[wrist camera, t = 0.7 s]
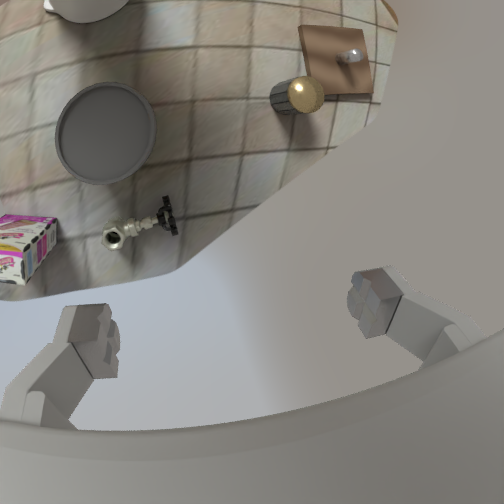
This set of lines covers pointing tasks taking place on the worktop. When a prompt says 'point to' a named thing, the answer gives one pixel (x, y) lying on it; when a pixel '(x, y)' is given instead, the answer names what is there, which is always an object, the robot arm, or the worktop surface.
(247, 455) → the robot arm
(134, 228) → the valve
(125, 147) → the reusable coffee cup
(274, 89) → the gold-topped grooved cylinder
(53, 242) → the candy bar box
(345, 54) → the steel post
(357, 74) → the post board
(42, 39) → the worktop surface
